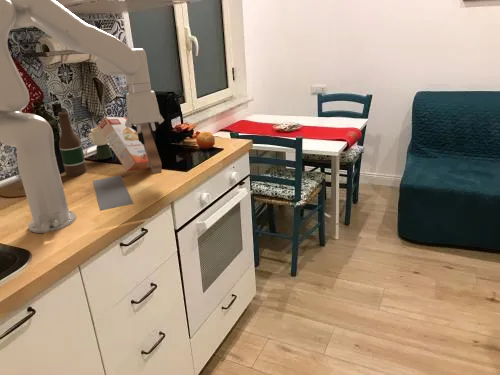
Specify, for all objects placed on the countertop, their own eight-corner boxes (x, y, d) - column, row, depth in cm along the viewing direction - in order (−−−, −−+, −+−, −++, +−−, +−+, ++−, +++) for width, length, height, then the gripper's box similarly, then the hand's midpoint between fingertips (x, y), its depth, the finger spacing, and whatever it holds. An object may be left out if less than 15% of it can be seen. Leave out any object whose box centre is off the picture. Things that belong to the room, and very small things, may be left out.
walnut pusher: (167, 171, 139) (167, 162, 135) (146, 175, 136) (146, 166, 132) (149, 118, 151) (149, 108, 147) (130, 121, 148) (129, 111, 144)
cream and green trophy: (120, 155, 180) (115, 126, 175) (113, 160, 174) (107, 130, 169) (97, 156, 182) (91, 127, 177) (89, 161, 175) (82, 131, 171)
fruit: (205, 140, 189) (209, 127, 184) (215, 152, 186) (219, 138, 180) (190, 144, 184) (194, 131, 179) (200, 156, 181) (203, 142, 175)
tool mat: (133, 204, 128) (133, 203, 128) (100, 212, 124) (99, 210, 124) (121, 176, 154) (120, 175, 154) (93, 182, 150) (92, 180, 150)
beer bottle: (65, 173, 162) (50, 112, 154) (86, 169, 165) (72, 109, 157) (67, 178, 156) (51, 115, 147) (88, 174, 159) (75, 112, 150)
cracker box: (137, 162, 145) (105, 115, 148) (127, 172, 148) (95, 126, 150) (160, 159, 158) (130, 116, 161) (150, 168, 161) (121, 126, 163)
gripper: (114, 92, 130) (125, 149, 136) (166, 86, 135) (173, 141, 142) (112, 90, 136) (122, 144, 143) (161, 84, 142) (168, 136, 148)
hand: (147, 142), depth 142 cm, fingers closed on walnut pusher, 3 cm apart
